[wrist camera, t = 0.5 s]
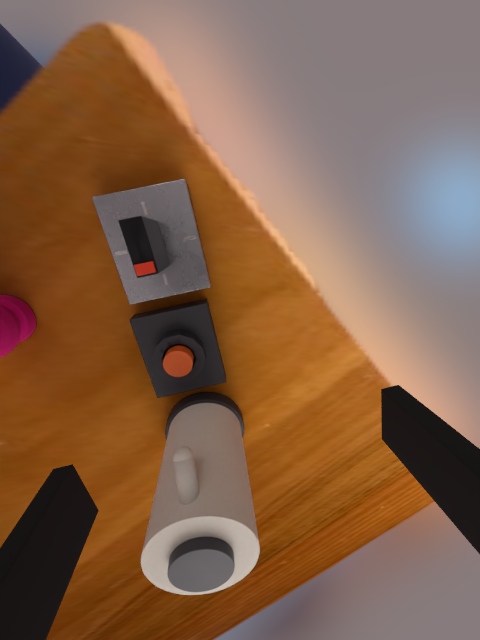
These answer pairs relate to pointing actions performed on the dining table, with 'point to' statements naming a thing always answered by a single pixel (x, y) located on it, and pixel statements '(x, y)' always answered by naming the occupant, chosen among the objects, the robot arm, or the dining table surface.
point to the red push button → (178, 361)
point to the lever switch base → (177, 232)
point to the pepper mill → (14, 323)
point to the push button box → (179, 329)
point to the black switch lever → (144, 245)
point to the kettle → (201, 501)
